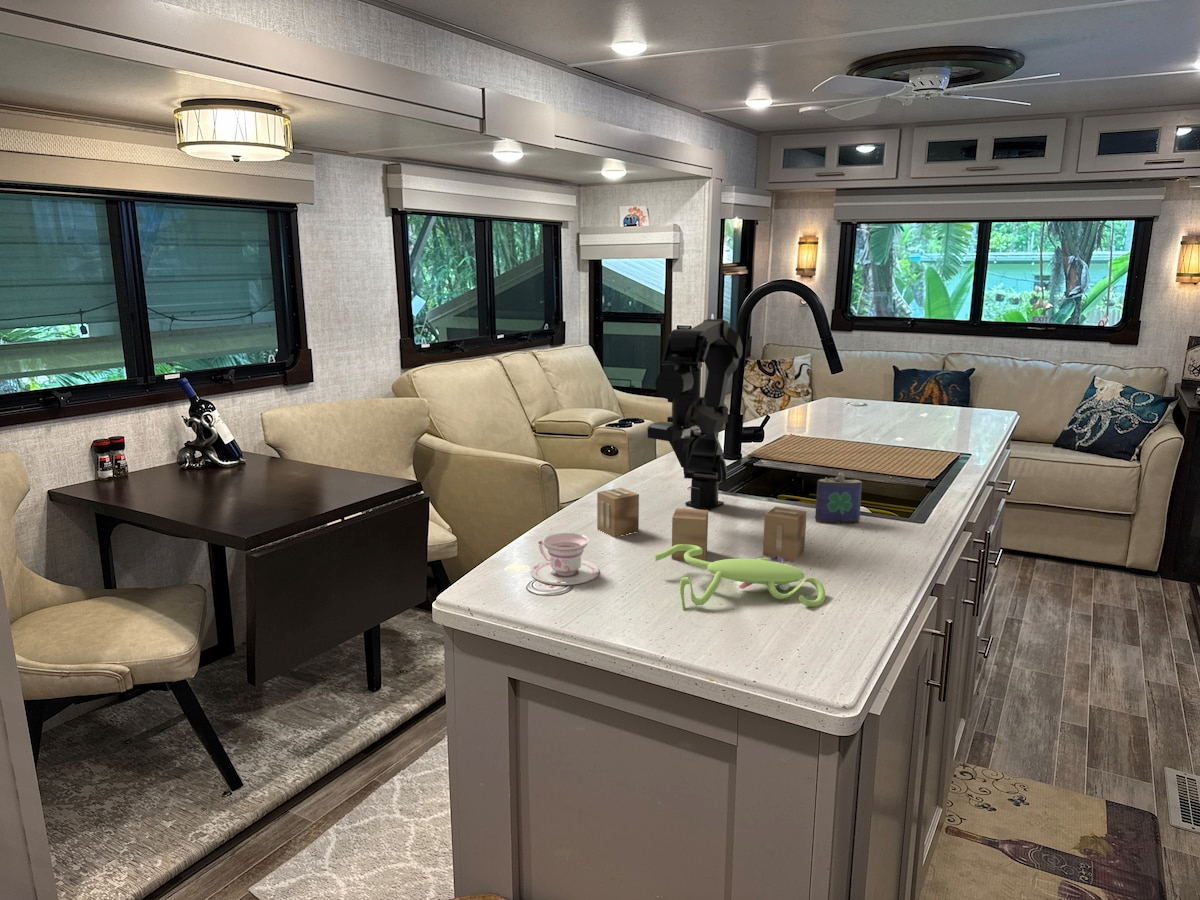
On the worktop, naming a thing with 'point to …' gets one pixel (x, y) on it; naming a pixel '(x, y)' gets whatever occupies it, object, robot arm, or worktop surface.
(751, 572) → the figurine
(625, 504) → the striped block
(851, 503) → the flask
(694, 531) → the plain block
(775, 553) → the striped block
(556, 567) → the teacup
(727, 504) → the worktop surface
